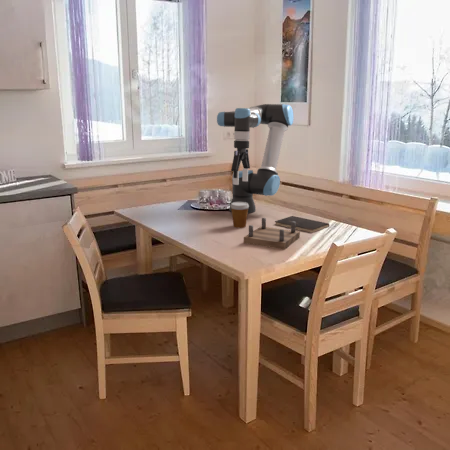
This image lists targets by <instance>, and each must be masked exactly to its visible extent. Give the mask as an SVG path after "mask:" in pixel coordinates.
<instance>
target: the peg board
mask: <svg viewBox="0 0 450 450" xmlns="http://www.w3.org/2000/svg"><path fill="white" fill-rule="evenodd" d="M295 224H296V222H294V221H292V222H291V228H290V230H289V229H284V228H276V227H275V228H274V227H268V226H267V218H266V217H262V218H261V226H259V227H257V228H256V229H255V230H254V225H253V224H251V225H250V224H249V225H248V234H246V235H244V236H243V244H246V245H253V246H257V247H264V248H265V247H266V248H273V249H278V250H279V249H280V250H286V249H288V247H290V246H291V245H292V244H294V243H296V241H297V240H298V239H300V238H301V237H300V236H301V235H300V234H301V232H300V230H298V231H297V230H296V229H295Z"/></svg>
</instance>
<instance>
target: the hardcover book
mask: <svg viewBox="0 0 450 450" xmlns="http://www.w3.org/2000/svg"><path fill="white" fill-rule="evenodd" d="M292 221H294V222H296V224H295V230H298V231H303V232H307V233H311V234H312V233H315V232H318V231H320V230H323V229H326V228H329V227H330V223H328V222H325V221H318V220H313V219H309V218H306V217H305V218H304V217H300V216H294V215H291V216H287V217H284V218H281V219H277V220H275V221H274V223H275V225H276V226H281V227H286V228H290V229H291V222H292Z"/></svg>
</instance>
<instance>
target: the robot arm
mask: <svg viewBox="0 0 450 450" xmlns="http://www.w3.org/2000/svg"><path fill="white" fill-rule="evenodd" d="M216 123H217V125H218V126H219V127H224V128H225V127H231V128H234V132H233V136H234V137H233V138H234V141H233V148H234V149H236V150H234V152H233V159H232V165H231V172H232V180H231V181H232V186H231V187H232V198H231V200H230V204H229V208H228V209H229V212H231V213H232V210H231V207H230V206H231V203H233V202H246V203H248V205H249V208H248V213H247V214H251V213H255V212H256V210H257V209H256V203H255V201H254V196H253V195H258V196H259V195H260V196H265V197H267V196H274V195H275V194H277V192H278V191H279V188H280V185H281V182H280V181H281V178H280V176H279V174H278V171H277V167H278V163H279V158H280V154H281V148H282V144H283V141H284V140H283V138H284V137H285V132H286V131H288V128H289V127H291V126H292V125H293V124H294V111H293V108H292V106H291V105H290V104H284V103H282V104H279V103H277V104H276V103H275V104H274V103H264V104H263V103H262V104H259V105H254V106H251V107H249V108H247V107H246V108H245V107H236V108H235V109H234V110H232V111H219V112H218V113H217V115H216ZM259 125H266V126H267V127H268V135H267V138H266V144H265V148H264V153H263V156H262V162H261V164H260V165H261V166H260V167H259V168H257V171H256V173H254V171H253V169H251V163H250V156H249V149H250V136H251V135H250V131H251V130H250V129H251V128H253V129H255V128H257V127H259ZM241 164H242V167H243V168H242V170H239V169H240V166H241Z"/></svg>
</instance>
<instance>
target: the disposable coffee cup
mask: <svg viewBox="0 0 450 450" xmlns="http://www.w3.org/2000/svg"><path fill="white" fill-rule="evenodd" d="M230 204H231V206H230V205H229V207H231V210H232V212H231V215H232V216H231V217H232V223H233V224H232V225H233V227H234V228H237V229H244V228H245V227H246V226H247V220H248V214H249V213H248V208H249V205H248V203H246V202H233V203H231V202H230Z"/></svg>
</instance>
